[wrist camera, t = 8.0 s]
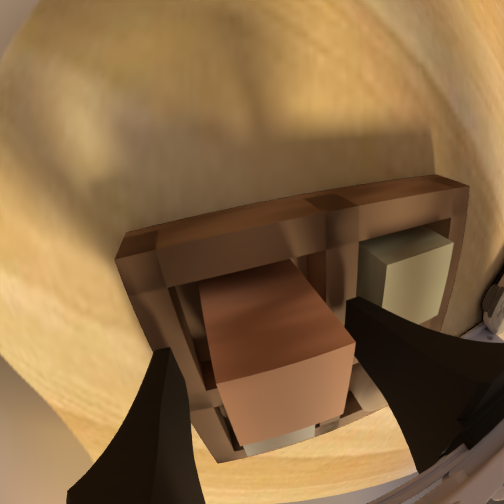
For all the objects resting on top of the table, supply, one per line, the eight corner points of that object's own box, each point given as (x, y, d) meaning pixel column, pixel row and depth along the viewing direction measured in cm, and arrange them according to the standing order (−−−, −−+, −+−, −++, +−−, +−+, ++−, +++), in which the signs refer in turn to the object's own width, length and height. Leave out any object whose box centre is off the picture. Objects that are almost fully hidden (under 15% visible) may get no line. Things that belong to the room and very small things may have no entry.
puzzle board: (436, 174, 14) (483, 191, 11) (401, 369, 21) (423, 397, 18) (126, 232, 11) (108, 273, 8) (211, 435, 19) (220, 474, 16)
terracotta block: (286, 254, 13) (355, 342, 8) (291, 323, 15) (343, 413, 9) (196, 275, 12) (216, 383, 7) (215, 342, 14) (240, 446, 9)
